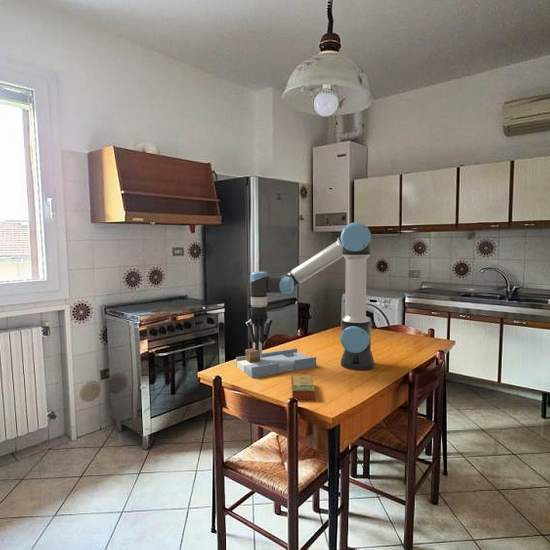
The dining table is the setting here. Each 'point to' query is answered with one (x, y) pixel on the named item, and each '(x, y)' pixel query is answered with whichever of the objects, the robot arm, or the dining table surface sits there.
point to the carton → (302, 388)
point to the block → (252, 355)
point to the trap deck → (275, 363)
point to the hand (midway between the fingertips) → (259, 356)
